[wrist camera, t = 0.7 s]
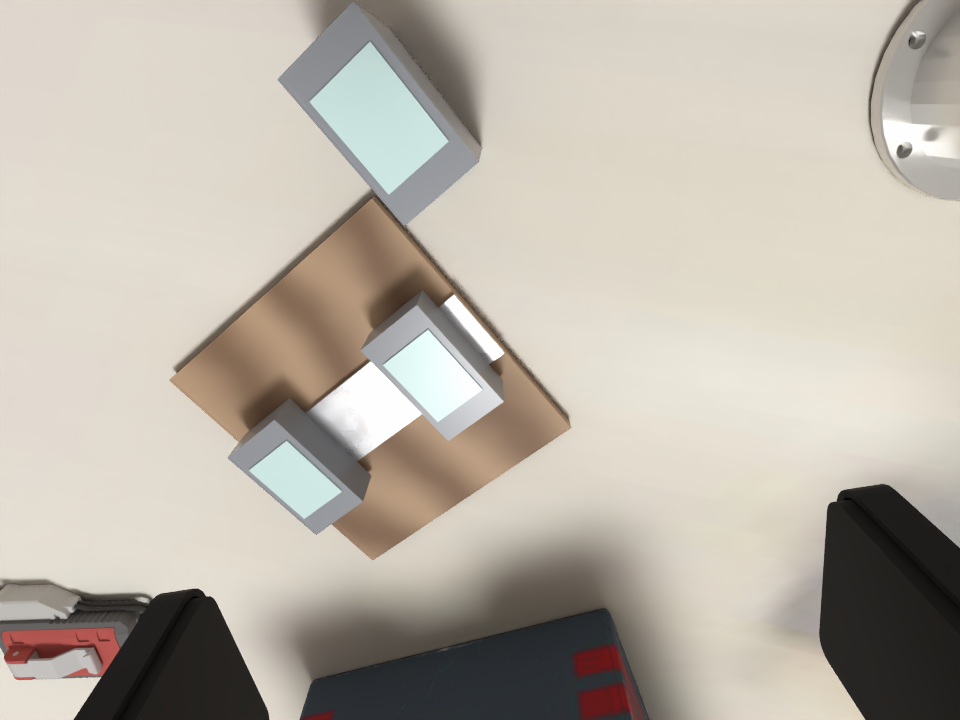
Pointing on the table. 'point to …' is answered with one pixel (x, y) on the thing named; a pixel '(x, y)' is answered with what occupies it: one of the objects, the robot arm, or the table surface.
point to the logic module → (381, 112)
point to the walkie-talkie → (61, 631)
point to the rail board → (369, 389)
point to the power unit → (494, 679)
